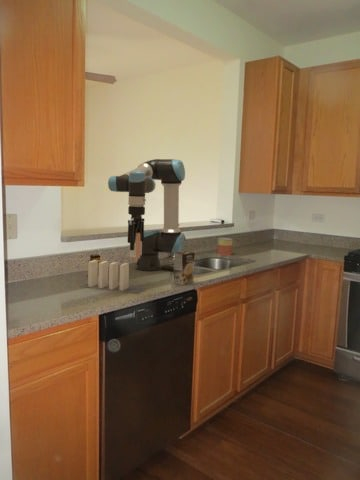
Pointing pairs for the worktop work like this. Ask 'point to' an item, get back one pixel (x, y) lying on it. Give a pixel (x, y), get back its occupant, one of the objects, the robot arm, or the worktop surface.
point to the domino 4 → (124, 276)
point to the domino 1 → (92, 273)
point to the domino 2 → (103, 274)
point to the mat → (129, 290)
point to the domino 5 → (137, 247)
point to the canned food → (224, 246)
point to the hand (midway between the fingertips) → (135, 255)
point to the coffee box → (183, 268)
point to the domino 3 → (113, 275)
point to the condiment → (95, 258)
